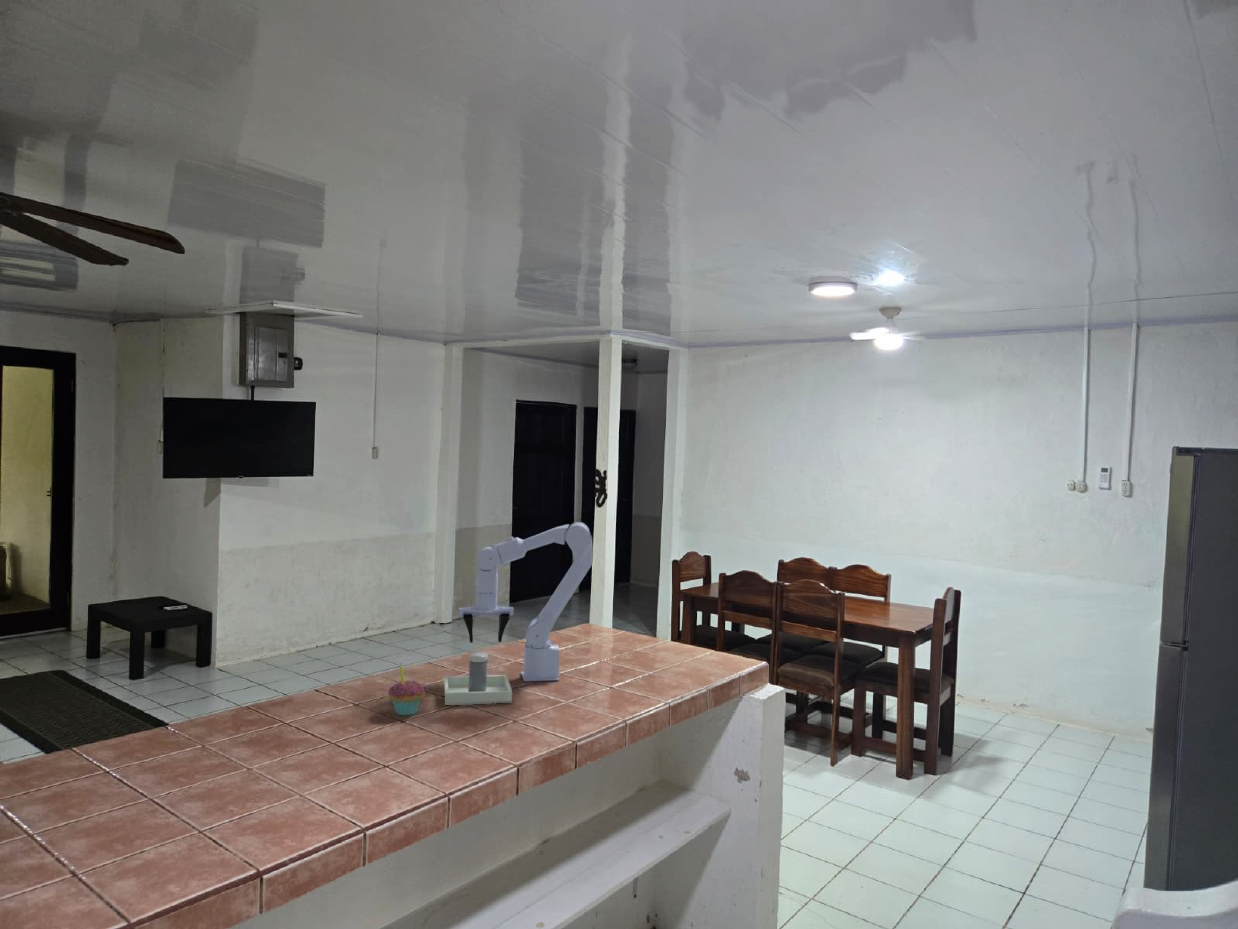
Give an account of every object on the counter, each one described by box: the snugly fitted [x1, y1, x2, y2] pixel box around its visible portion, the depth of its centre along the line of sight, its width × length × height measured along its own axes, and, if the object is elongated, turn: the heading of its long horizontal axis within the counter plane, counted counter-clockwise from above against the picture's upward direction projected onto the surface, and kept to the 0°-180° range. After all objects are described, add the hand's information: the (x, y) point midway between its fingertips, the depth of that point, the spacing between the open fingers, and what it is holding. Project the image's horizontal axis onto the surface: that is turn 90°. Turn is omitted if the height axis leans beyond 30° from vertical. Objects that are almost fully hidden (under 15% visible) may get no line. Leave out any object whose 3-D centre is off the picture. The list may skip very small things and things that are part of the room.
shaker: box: [468, 652, 489, 692], centre depth 206 cm, size 5×5×10 cm
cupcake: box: [387, 663, 427, 716], centre depth 192 cm, size 9×8×12 cm
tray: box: [443, 674, 513, 706], centre depth 206 cm, size 16×14×3 cm
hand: (485, 641), depth 223 cm, fingers open, 7 cm apart
